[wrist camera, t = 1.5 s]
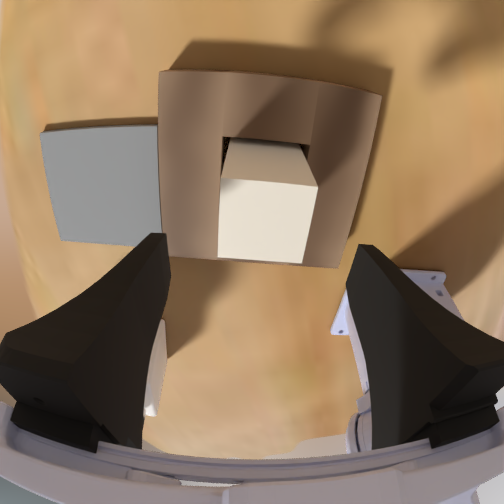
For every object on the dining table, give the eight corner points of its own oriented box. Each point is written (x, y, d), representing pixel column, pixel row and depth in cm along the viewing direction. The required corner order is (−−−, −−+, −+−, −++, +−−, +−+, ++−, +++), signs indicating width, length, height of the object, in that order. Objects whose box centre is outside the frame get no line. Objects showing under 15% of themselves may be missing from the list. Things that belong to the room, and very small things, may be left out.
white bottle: (95, 304, 27) (50, 414, 17) (165, 317, 28) (138, 439, 18) (107, 348, 31) (77, 444, 21) (168, 360, 32) (149, 462, 22)
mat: (159, 124, 18) (157, 126, 17) (164, 244, 23) (163, 248, 22) (43, 131, 17) (39, 133, 17) (63, 237, 22) (60, 240, 22)
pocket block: (370, 91, 16) (382, 95, 14) (332, 251, 23) (338, 268, 22) (168, 69, 16) (158, 71, 14) (170, 239, 23) (164, 255, 21)
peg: (297, 140, 18) (318, 187, 13) (288, 198, 21) (301, 263, 15) (231, 134, 18) (220, 178, 12) (227, 192, 20) (217, 257, 15)
